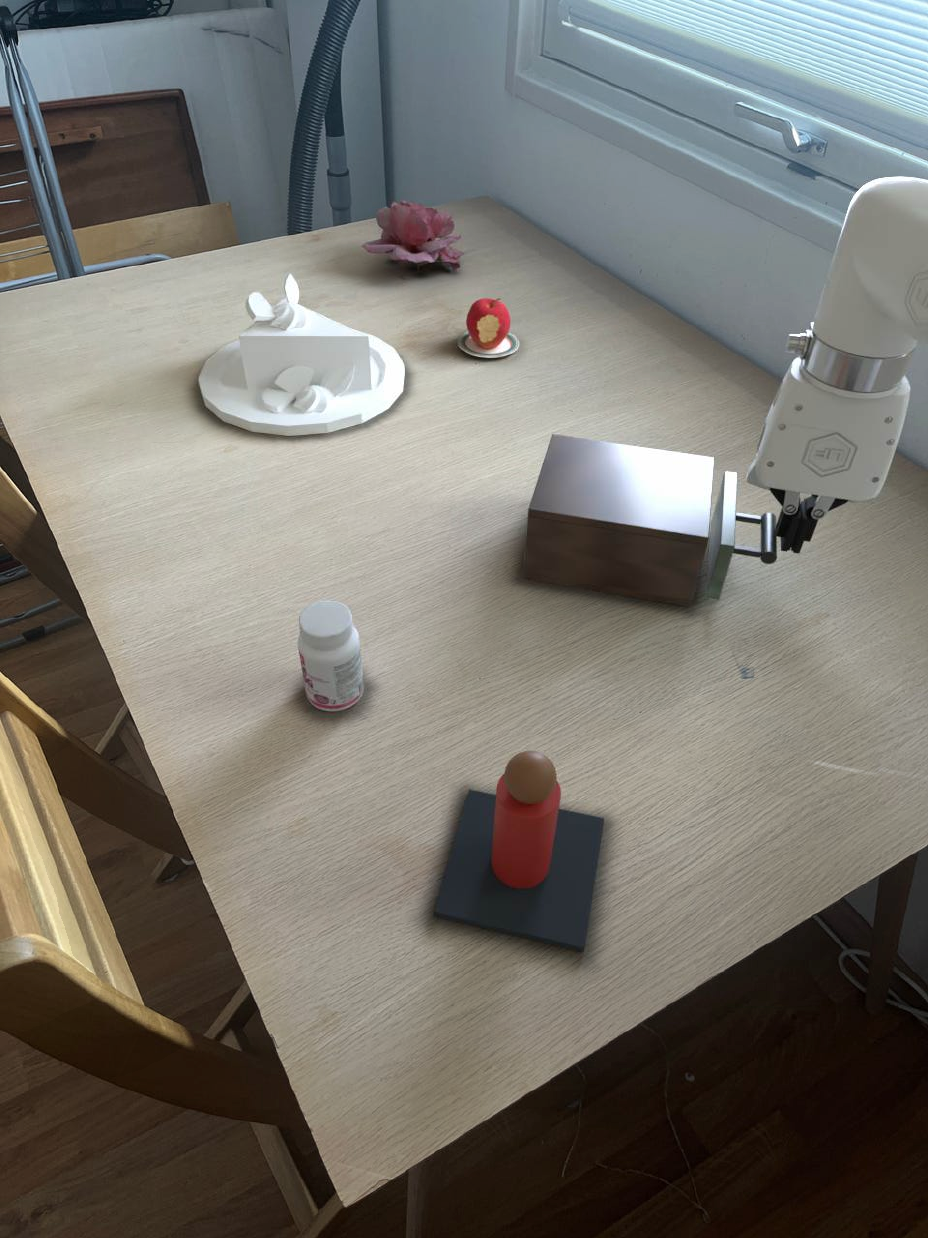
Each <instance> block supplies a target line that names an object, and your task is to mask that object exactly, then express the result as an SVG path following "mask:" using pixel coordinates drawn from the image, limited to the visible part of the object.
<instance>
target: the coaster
mask: <svg viewBox="0 0 928 1238" xmlns="http://www.w3.org/2000/svg"><path fill="white" fill-rule="evenodd" d="M495 804H496V794H492V793H488V792H484V791H478V790H474V789H468V792H467V796H466V798H465V802H464V806H463V808H462V812H461V815H460V820H459V823H458V827H457V830H456V833H455V836H454V840H453V843H452V847H451V851H450V854H449V857H448V860H447V865H446V868H445V871H444V875H443V878H442V882H441V885H440V889H439V892H438V896H437V898H436V902H435V906H434V909H433V917H435V918H441V919H445V920H449V921H454V922H457V923H460V924H465V925H469V926H473V927H477V928H481V929H485V930H491V931H494V932H498V933H502V934H506V935H511V936H515V937H519V938H524V939H528V940H532V941H536V942H540V943H545V944H549V945H553V946H556V947H561V948H565V949H568V950H574V951H577V952H583V953H584V952H585V948H586V942H587V935H588V928H589V921H590V915H591V910H592V909H591V908H592V903H593V897H594V889H595V884H596V883H595V882H596V876H597V870H598V863H599V857H600V851H601V849H600V848H601V844H602V843H601V842H602V835H603V829H604V823H605V818H604V817H599V816H596V815H591V814H585V813H581V812H576V811H572V810H567V809H563V808H559V811H558V817H557V823H556V829H555V836H554V842H553V848H552V854H551V861H550V867H549V871H548V874H547V876H546V877H545V879H544V880H543V881H542V882H540V883H539V884H538V885H536V886H534V887H531V888H526V889H518V888H513V887H510V886H508V885H506V884H504V883H503V882H502V881H501V880H500V879H499V878H498V877H497V876H496V875H495V873H494V871H493V868H492V863H491V860H492V845H493V831H494V817H495Z"/></svg>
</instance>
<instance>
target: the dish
mask: <svg viewBox="0 0 928 1238" xmlns="http://www.w3.org/2000/svg"><path fill="white" fill-rule="evenodd" d="M284 279H285V280H284V283H283V284H284V285H283V290H284V295H285V297H283V298H282V299H281V300H279V302H277V303H276V304H275V305H274V306H271V305H270V303H269V302H268V301H267V299H266V298H265V297H264V296H263V295H262V293H261V292H260V291H256V292H251V294H250V295H249V296H248V297H247V298H246V299H245V309H246V312H247V314H248V316H249V317H250V319H251V320H252V321H253V323H252V324H251V325H250V326H248V327H247V328H246V329H245V330H244V331H242V332H241V333H240V334H239V335H238V339H236V340H234V341H232V342H230V343H228V344H225V345H223V346H222V347H221V348H220V349H219V350H218V351H216V352H215V353H214V354H212V355H211V356H210V357H209V358H208V359H206V360H205V362H204V365H203V366H202V368H201V371H200V373H199V376H198V377H197V380H198V385H199V389H200V393H201V395H202V400H203V403H204V406H205V407H206V408H207V409H208V410H209V411H210V412H212V413H213V414H214V415H215V416H216V417H218V418H219V419H220V420H221V421H222V422H224V423H227V424H229V425H232V426H235V427H238V428H241V429H244V430H246V431H249V432H252V433H258V434H268V435H275V436H276V435H277V436H287V437H294V436H295V437H296V436H307V435H318V434H329V433H333V432H336V431H340V430H343V429H347V428H351V427H353V426H354V427H355V426H358V425H361V424H364V423H365V422H367V421H369V420H371V419H373V418H374V417H376V416H378V415H380V414H382V413H383V412H385V411H387V410H388V409H390V407H392V405H393V404H394V403H395V401H397V399H398V398H399V396H400V395H401V394H402V393H403V392H404V384H405V375H406V373H405V372H406V371H405V362H404V361H403V359H402V357H400V355H399V353H398V352H397V350H396V348H394V347H393V346H391V345H390V344H388V343H386V342H385V341H384V340H382V339H380V338H379V337H377V336H375V335H373V334H369V333H366V332H362V331H360V330H356V329H353V328H351V327H349V326H347V325H344V324H343V323H340V322H338V321H336V320H334V319H332V318H329V317H327V316H325V315H323V314H320V313H319V312H316V311H314V310H312V309H309V308H308V307H305V306H303V305H301V304H299V303H298V302H299V299H300V289H299V285H298V283H297V282H296V279H295V278H294V277H293V275H292V274H291V273H288V274H287V276H286V278H284Z"/></svg>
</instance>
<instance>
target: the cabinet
mask: <svg viewBox="0 0 928 1238" xmlns="http://www.w3.org/2000/svg"><path fill="white" fill-rule="evenodd" d="M714 472H715V457H713V456H708V455H707V456H705V455H700V454H692V453H685V452H679V451H673V450H664V449H658V448H651V447H650V448H649V447H645V446H637V445H630V444H623V443H616V442H610V441H602V440H598V439H597V440H596V439H589V438H583V437H574V436H569V435H562V434H555V433H553V434H551V437H550V440H549V443H548V446H547V450H546V452H545V455H544V459H543V462H542V465H541V469H540V471H539V474H538V477H537V481H536V483H535V487H534V490H533V493H532V496H531V499H530V503H529V506H528V509H527V518H526V519H527V520H526V531H525V544H524V557H523V567H522V579H525V580H530V581H531V580H532V581H537V582H540V583H541V582H542V583H547V584H553V585H559V586H565V587H571V588H577V589H582V590H587V591H594V592H599V593H600V592H601V593H605V594H612V595H617V596H622V597H630V598H635V599H640V600H647V601H652V602H657V603H664V604H669V605H675V606H681V607H686V608H691V607H692V604H693V603H692V602H693V599H694V596H695V591H696V588H697V584H698V580H699V577H700V573H701V570H702V565H703V562H704V559H705V555H706V551H707V547H708V543H709V541H710V529H711V515H712V514H711V513H712V502H713V501H712V500H713V499H712V498H713V487H714Z"/></svg>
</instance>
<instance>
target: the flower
mask: <svg viewBox="0 0 928 1238" xmlns="http://www.w3.org/2000/svg"><path fill="white" fill-rule="evenodd" d="M437 209H438V208H433V207H425V206H424V205H422V204H420V203H416V202H414V201H406V200H404V199H402V201H400V202H399V203H397V202H395V200H393V201H392V203H391V206H390V208H389V207H388V206H383V207H382V208H379V209H378V210H377V211H376V213H375V220H376V223H377V226H378V227H379V228H381V230H382V231H381V233H380V238H378V239H374V240H371V241H366V242H364V243H363V244H361V248H363V249H364V251H366V252H368V253H371V254H376V255H377V254H389V253H391V255H390V260H392V261H393V262H394V261H395V262H401V263H403V265H404V267H405V266H406V264H411V265H412V266H414V264H415V265H416V269H417V271H418V273H419V274H421V272H420V266H423V265H426V264H431V263H435V262H436V263H441V264H450V267H451V269H452V271H455V270H457V269H459V268H461V264H460V261H458V259H459V258H461V257H463V256H464V255H465V252H464V251H462V250H459V249H458V248H456V247H454V246H451V245H453V244H455V243H458V241H460V240H461V238H462V234H460V235H451V234H452V233H453V231H454V230H455V223H454V220H452V219H453V214H452V213H447V212H445V211H438V210H437ZM436 239H437V240H436Z"/></svg>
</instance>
